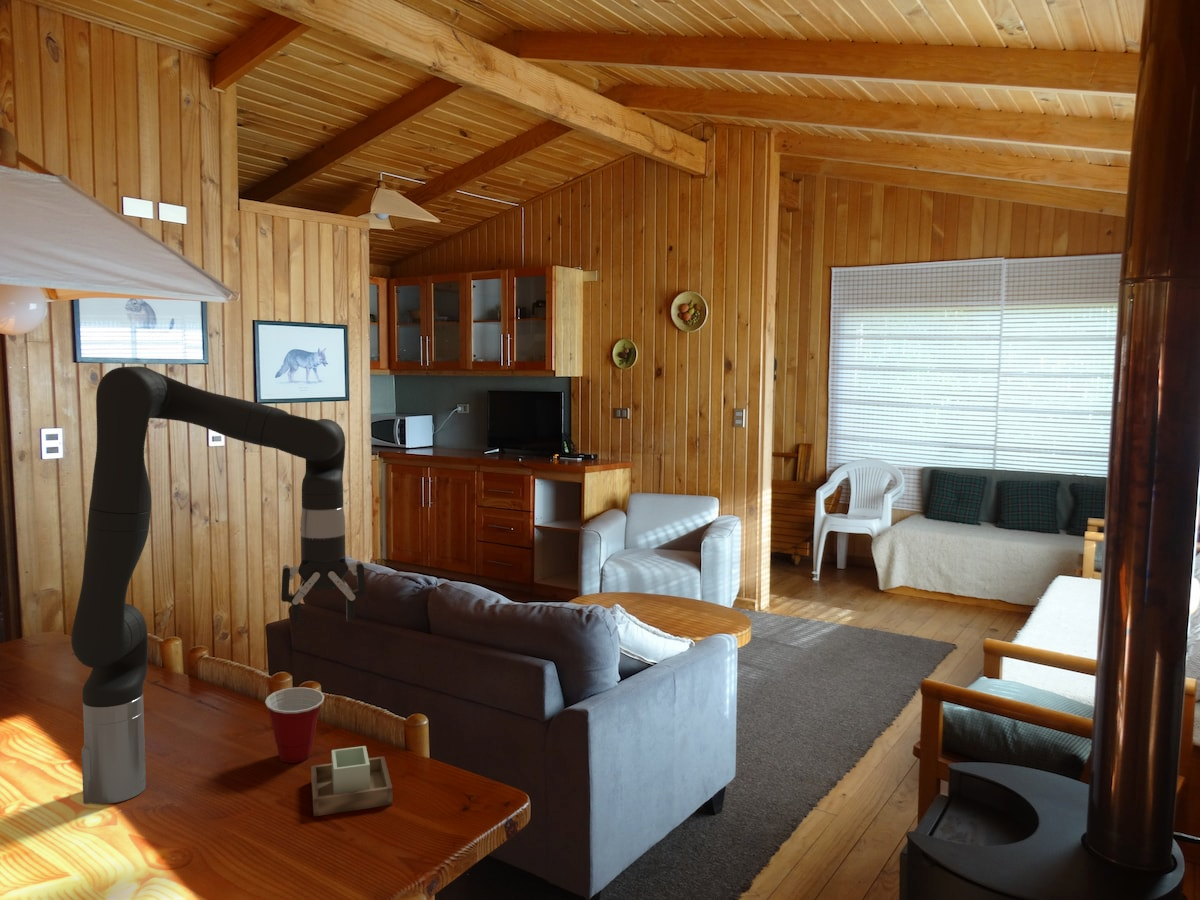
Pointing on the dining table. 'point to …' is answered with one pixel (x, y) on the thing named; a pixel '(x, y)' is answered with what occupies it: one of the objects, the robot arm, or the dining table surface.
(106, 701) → the robot arm
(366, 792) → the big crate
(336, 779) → the box
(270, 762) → the dining table surface
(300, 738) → the plastic cup
